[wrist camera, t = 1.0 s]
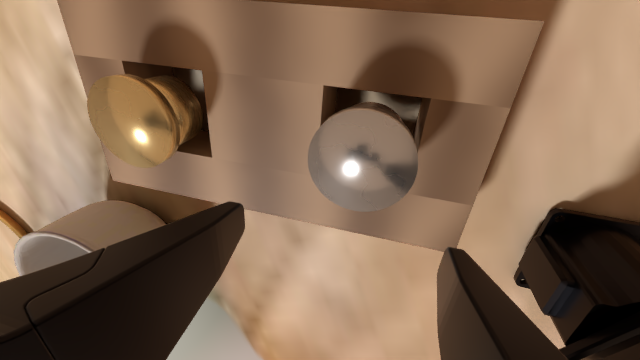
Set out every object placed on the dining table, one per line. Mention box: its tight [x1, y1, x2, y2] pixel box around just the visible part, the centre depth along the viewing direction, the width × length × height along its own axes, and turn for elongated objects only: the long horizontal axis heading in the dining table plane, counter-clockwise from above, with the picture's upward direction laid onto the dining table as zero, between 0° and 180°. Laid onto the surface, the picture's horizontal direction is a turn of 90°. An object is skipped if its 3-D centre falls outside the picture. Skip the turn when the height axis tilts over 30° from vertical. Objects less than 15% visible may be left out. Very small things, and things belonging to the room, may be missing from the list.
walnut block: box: [57, 0, 544, 252], centre depth 18 cm, size 24×12×4 cm, turn 85°
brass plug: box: [87, 74, 203, 168], centre depth 16 cm, size 5×5×3 cm
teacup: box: [14, 200, 166, 276], centre depth 27 cm, size 14×11×8 cm
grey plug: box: [308, 102, 418, 212], centre depth 14 cm, size 5×5×3 cm
